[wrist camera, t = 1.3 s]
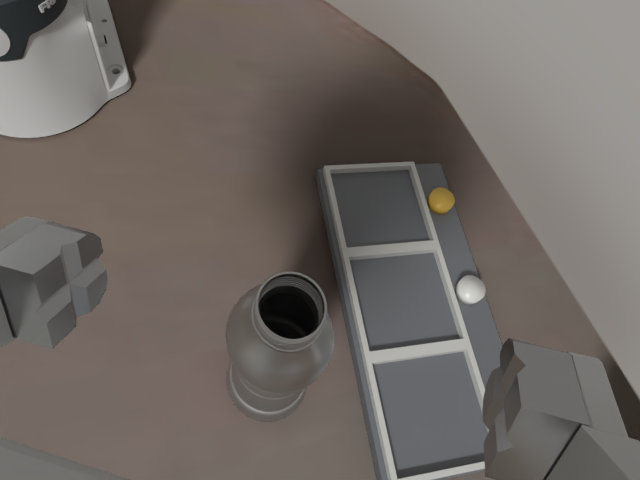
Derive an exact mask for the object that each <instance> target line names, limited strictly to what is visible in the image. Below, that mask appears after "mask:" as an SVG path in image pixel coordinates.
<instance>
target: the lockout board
mask: <svg viewBox="0 0 640 480" xmlns="http://www.w3.org/2000/svg"><path fill="white" fill-rule="evenodd" d="M316 182H317V187H318V192H319V197H320V202H321V207H322V211H323V216H324V221H325V226H326V231H327V236H328V241H329V246H330V251H331V256H332V261H333V266H334V271H335V276H336V281H337V286H338V291H339V296H340V300H341V305H342V310H343V315H344V320H345V325H346V330H347V335H348V340H349V345H350V350H351V355H352V360H353V365H354V370H355V375H356V380H357V385H358V389H359V394H360V399H361V404H362V409H363V414H364V419H365V424H366V429H367V434H368V439H369V444H370V449H371V454H372V459H373V464H374V469H375V474H376V478H377V480H443V479H448V478H453V477H457V476H462V475H467V474H472V473H476V472H481V471H485V462H484V441H485V438H486V436H487V434H488V432H489V429H488V428H487V427H486V425H485V424H484V422H483V413H482V408H483V397H484V393H485V389H486V384H487V382H488V379H489V377H490V374H491V372H492V370H494V369H496V368H498V367H500V351H501V349H502V347H503V346H502V343H501V340H500V337H499V334H498V331H497V328H496V325H495V322H494V320H493V317H492V314H491V311H490V308H489V305H488V302H487V299H486V296H485V292H486V290H485V286H484V284H483V282H482V281H481V280H480V278H479V275H478V272H477V270H476V267H475V264H474V261H473V258H472V255H471V252H470V249H469V246H468V243H467V240H466V237H465V234H464V231H463V228H462V225H461V223H460V220H459V217H458V214H457V211H456V208H455V205H454V203H455V198H454V196H453V194H452V193H451V192H450V190H449V187H448V184H447V181H446V178H445V175H444V173H443V170H442V167H441V164H440V163H429V164H415V163H414V162H392V163H371V164H350V165H328V166H324V168H323V169H318V170H317V173H316Z"/></svg>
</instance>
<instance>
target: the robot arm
mask: <svg viewBox="0 0 640 480" xmlns="http://www.w3.org/2000/svg"><path fill="white" fill-rule="evenodd" d="M117 73H118V74H117ZM130 87H131V79H130V76H129V72H128V69H127V65H126V62H125V58H124V55H123V51H122V48H121V44H120V41H119V37H118V34H117V30H116V27H115V23H114V20H113V16H112V13H111V9H110V6H109V3H108V0H0V134H1V135H5V136H11V137H19V138H35V137H44V136H50V135H54V134H58V133H61V132H64V131H67V130H70V129H72V128H74V127H76V126H78V125H80V124H82V123H83V122H85V121H86V120H88V119H89V118H90V117H92V116H93V115H94V114H95V113H96V112H97V111H98V110H99V109H100V108H101V107H102V106H103V105H104V104H105V103H106V102H107V101H108V100H110V99H112V98H115V97H117V96H119V95H121V94H123V93H124V92H126V91H127V90H129V89H130ZM102 253H103V249H102V244H101V239H100V238H99V237H98V236H97V235H95V234H94V233H90V232H87V231H83V230H79V229H76V228H72V227H69V226H65V225H61V224H58V223H54V222H49V221H46V220H42V219H38V218H35V217H22V218H20V219H18V220H17V221H15V222H13V223H12V224H10V225H8V226H7V227H5V228H3V229H2V230H0V347H2V346H4V345H6V344H8V343H10V342H12V341H14V339H18V340H22V341H25V342H29V343H33V344H37V345H41V346H44V347H48V348H52V349H53V348H54V347H55V346H56V345H57V344H58V343H59V342H60V341H61V340H63V339H64V338H65V337H66V336H67V335H68V334H69V333H70V332H71V331H72V330H73V329H74V328H75V327H76V319H77V317H79V316H81V315H84V314H87V313H89V312H91V311H92V310H93V309H94V308H95V307H96V306H97V305H98V304H99V303H100V301H101V299H102V297H103V295H104V293H105V291H106V286H107V273H106V269H105V267H104V266H103V265H102V264H101V262H100V261H99V260H98V258H99V257H100V255H101V254H102ZM482 413H483V422H484V424H485V425H486V427H487V428H488V429H489V432H488V434H487V436H486V438H485V441H484V462H485V477H488V478H491V479H494V480H640V442H639V441H638V440H635V439H632V438H628V435H627V432H626V429H625V426H624V423H623V420H622V417H621V415H620V412H619V409H618V406H617V403H616V400H615V397H614V394H613V392H612V389H611V386H610V383H609V380H608V377H607V374H606V371H605V368H604V366H603V363H602V362H601V361H600V360H599V359H597V358H593V357H589V356H584V355H580V354H576V353H571V352H564V351H560V350H556V349H551V348H547V347H543V346H539V345H535V344H531V343H527V342H523V341H519V340H515V339H511V338H508V339H507V341H506V342H505V343H504V345H503V347H502V349H501V351H500V367H498V368H496V369H494V370H492V372H491V374H490V377H489V379H488V382H487V384H486V389H485V393H484V397H483V408H482ZM0 480H130V479H127V478H124V477H121V476H118V475H115V474H112V473H109V472H106V471H103V470H100V469H97V468H94V467H91V466H88V465H84V464H81V463H78V462H75V461H72V460H69V459H66V458H63V457H60V456H57V455H54V454H51V453H48V452H45V451H42V450H39V449H36V448H33V447H30V446H27V445H24V444H21V443H18V442H15V441H12V440H9V439H6V438H3V437H0Z"/></svg>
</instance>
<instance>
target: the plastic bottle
mask: <svg viewBox="0 0 640 480" xmlns="http://www.w3.org/2000/svg"><path fill="white" fill-rule="evenodd" d="M226 344H227V349H228V353H229V356H230V359H231V361H230V363H229V365H228V369H227V376H226V383H227V389H228V392H229V396H230V398H231V400H232V401H233V403H234V405H235V406H236V407H237V408H238V409H239V411H241V412H242V413H243V414H245V415H246V416H248V417H250V418H252V419H254V420H258V421H261V422H272V421H278V420H281V419H283V418H285V417H287V416H288V415H290V414H291V413H293V412H294V411H295V410H296V409H297V408H298V406H299V405H300V403H301V402H302V400H303V398H304V395H305V393H306V388H307V386H308V385H310V384H311V383H313V382H314V381H315V380H316V379H317V378H318V377H319V376H320V375H321V374H322V373H323V372H324V370H325V369H326V367H327V366H328V364H329V362H330V359H331V356H332V354H333V348H334V331H333V326H332V322H331V319H330V316H329V314H328V312H327V302H326V297H325V295H324V293H323V291H322V289H321V288H320V286H319V285H318V284H317V283H316V282H315V281H314V280H313V279H311V278H310V277H308V276H306V275H304V274H302V273H299V272H294V271H285V272H280V273H276V274H274V275H272V276H270V277H269V278H268V279H267V280H265V281H264V282H263V284H260V285H258V286H256V287H254V288H253V289H251V290H249V291H248V292H247V293H246V294H245V295H243V296H242V297H241V298H240V299H239V300H238V302H237V303H236V304H235V305H234V307H233V309H232V311H231V313H230V315H229V318H228V322H227V325H226Z"/></svg>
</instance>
